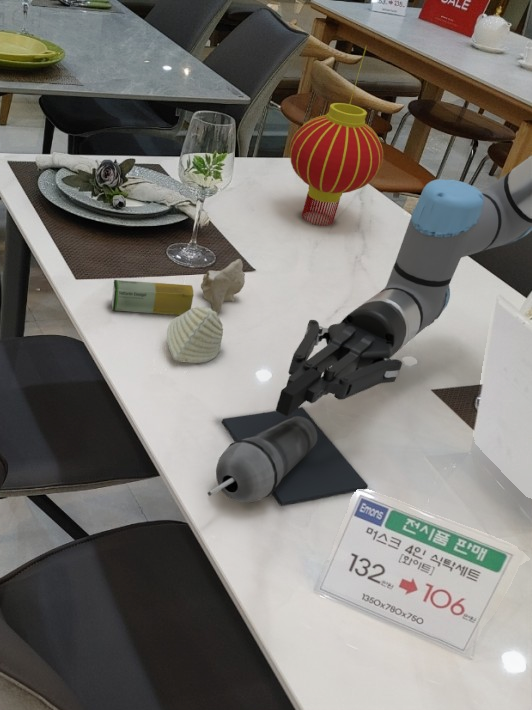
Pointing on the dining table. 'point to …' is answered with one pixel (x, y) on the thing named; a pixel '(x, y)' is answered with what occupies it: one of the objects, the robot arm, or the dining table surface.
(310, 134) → the lantern
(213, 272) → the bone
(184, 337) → the seashell
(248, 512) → the dining table surface
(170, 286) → the medication box
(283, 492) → the mat
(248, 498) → the beverage cup
